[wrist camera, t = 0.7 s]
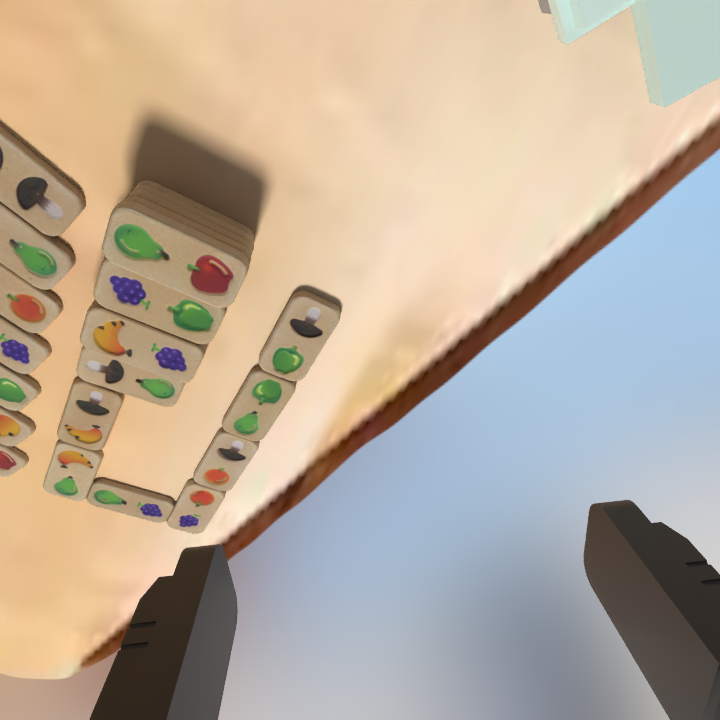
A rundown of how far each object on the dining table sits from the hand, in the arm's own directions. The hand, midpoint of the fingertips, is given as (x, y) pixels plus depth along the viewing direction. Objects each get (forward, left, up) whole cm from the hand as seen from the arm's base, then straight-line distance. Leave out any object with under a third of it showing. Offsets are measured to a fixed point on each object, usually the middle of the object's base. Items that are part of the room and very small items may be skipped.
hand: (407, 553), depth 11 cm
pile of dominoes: (+4, -25, -27) cm, 37 cm away
